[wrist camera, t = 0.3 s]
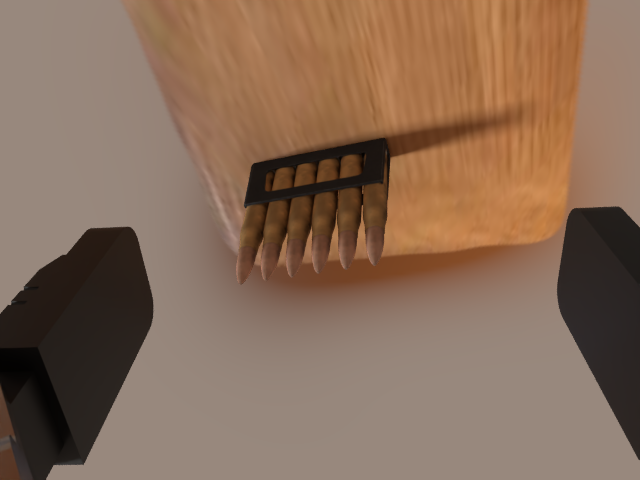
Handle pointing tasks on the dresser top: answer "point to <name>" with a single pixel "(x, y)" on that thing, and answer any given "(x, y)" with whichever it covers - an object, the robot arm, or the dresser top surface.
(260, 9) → the dresser top surface
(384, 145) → the ammunition clip
